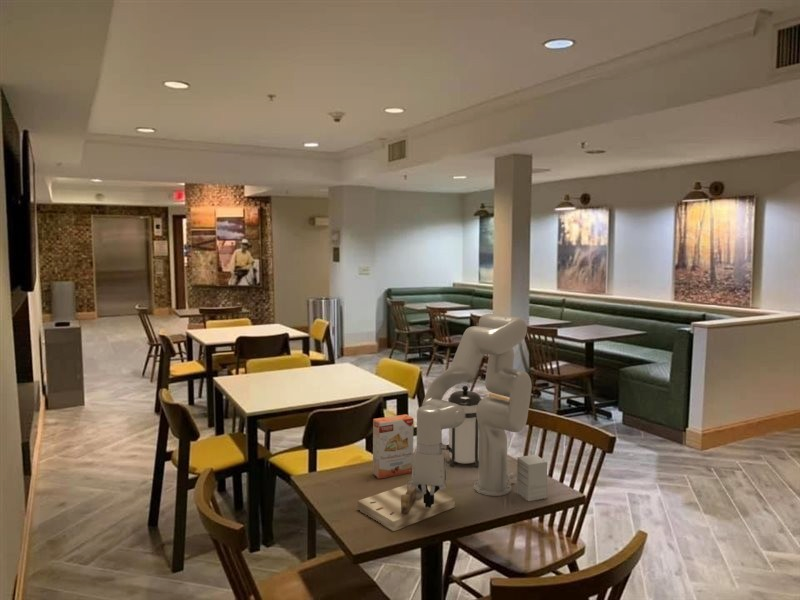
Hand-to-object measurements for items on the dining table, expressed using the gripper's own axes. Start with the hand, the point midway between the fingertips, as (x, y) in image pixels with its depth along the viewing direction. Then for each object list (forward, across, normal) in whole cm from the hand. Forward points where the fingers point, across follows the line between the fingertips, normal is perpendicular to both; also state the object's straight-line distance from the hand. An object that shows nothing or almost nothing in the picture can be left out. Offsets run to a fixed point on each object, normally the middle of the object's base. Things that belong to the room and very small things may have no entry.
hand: (428, 505), depth 180 cm
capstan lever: (+1, +6, -2) cm, 7 cm away
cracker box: (+5, +19, -32) cm, 38 cm away
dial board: (+4, +8, -6) cm, 11 cm away
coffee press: (+4, -3, -49) cm, 49 cm away
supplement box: (+4, -30, -25) cm, 39 cm away
